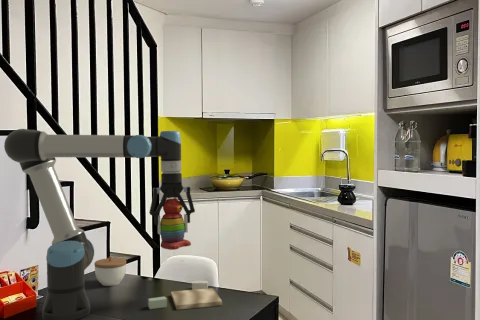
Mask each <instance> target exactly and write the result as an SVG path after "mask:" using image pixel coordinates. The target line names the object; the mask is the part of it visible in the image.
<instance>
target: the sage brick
mask: <svg viewBox="0 0 480 320" xmlns="http://www.w3.org/2000/svg"><path fill="white" fill-rule="evenodd" d="M147 307H148V308H149V310H155V309H161V308H162V309H163V308H167V307H168V298H167V297H166V296H157V297H151V298H147Z"/></svg>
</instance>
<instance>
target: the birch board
mask: <svg viewBox="0 0 480 320" xmlns="http://www.w3.org/2000/svg"><path fill="white" fill-rule="evenodd" d="M170 296H171V299H172V302H173V304H174V306H175V307H174V308H175V310H177V311H178V310H179V311H180V310H188V309H190V310H191V309H198V308H208V307H219V306H220V307H221V306H223V301H222V298H220V296H219V295H218V293H217V292H216V291H215V289H214V288H213V287H211V288H210V287H208V288H207V289H195V290H192V289H186V290H184V289H183V290H175V291H174V290H173V291H172V290H171V291H170Z"/></svg>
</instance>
